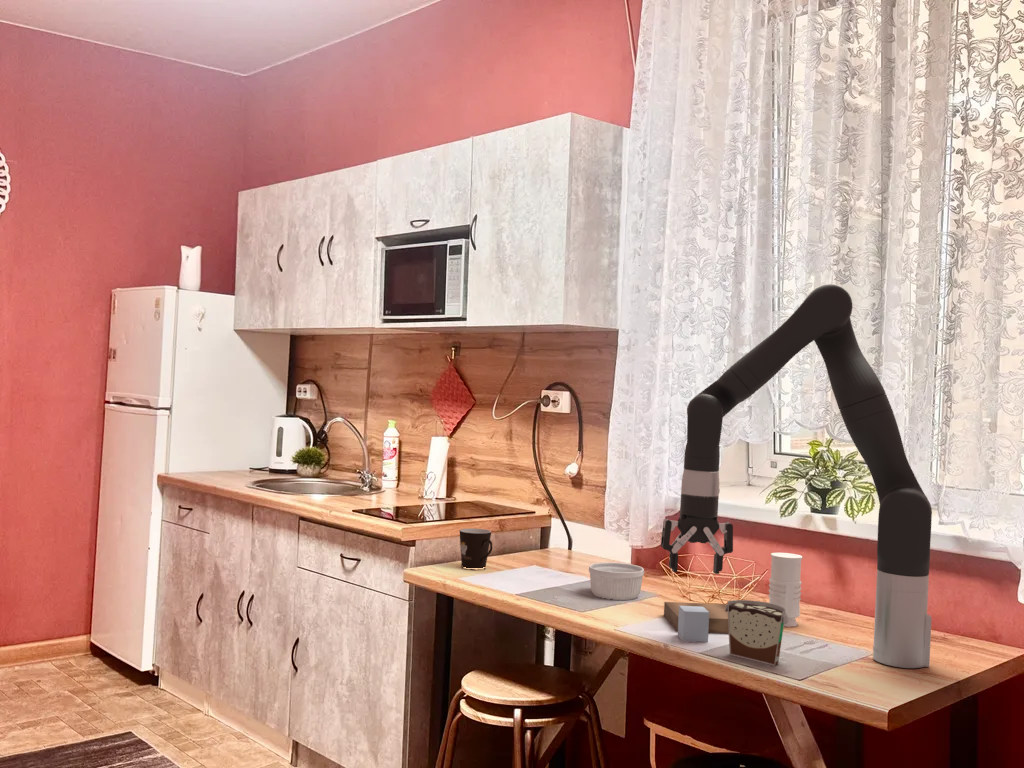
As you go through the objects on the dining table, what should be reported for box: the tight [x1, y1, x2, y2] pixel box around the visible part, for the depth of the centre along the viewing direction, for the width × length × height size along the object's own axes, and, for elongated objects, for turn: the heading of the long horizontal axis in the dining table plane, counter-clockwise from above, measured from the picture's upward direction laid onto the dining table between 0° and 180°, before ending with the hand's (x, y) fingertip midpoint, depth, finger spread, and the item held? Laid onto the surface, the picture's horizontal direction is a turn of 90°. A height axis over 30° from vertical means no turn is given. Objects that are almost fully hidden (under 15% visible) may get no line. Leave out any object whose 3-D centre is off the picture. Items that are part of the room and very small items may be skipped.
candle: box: [768, 552, 803, 628], centre depth 209 cm, size 7×7×15 cm
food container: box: [725, 599, 788, 667], centre depth 180 cm, size 12×6×10 cm, turn 48°
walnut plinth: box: [663, 601, 729, 634], centre depth 204 cm, size 14×14×3 cm
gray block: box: [677, 606, 709, 643], centre depth 192 cm, size 5×5×6 cm
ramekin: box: [588, 561, 645, 601], centre depth 229 cm, size 13×13×7 cm
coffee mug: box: [459, 527, 493, 568], centre depth 254 cm, size 12×9×10 cm
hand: (695, 572), depth 192 cm, fingers open, 8 cm apart
